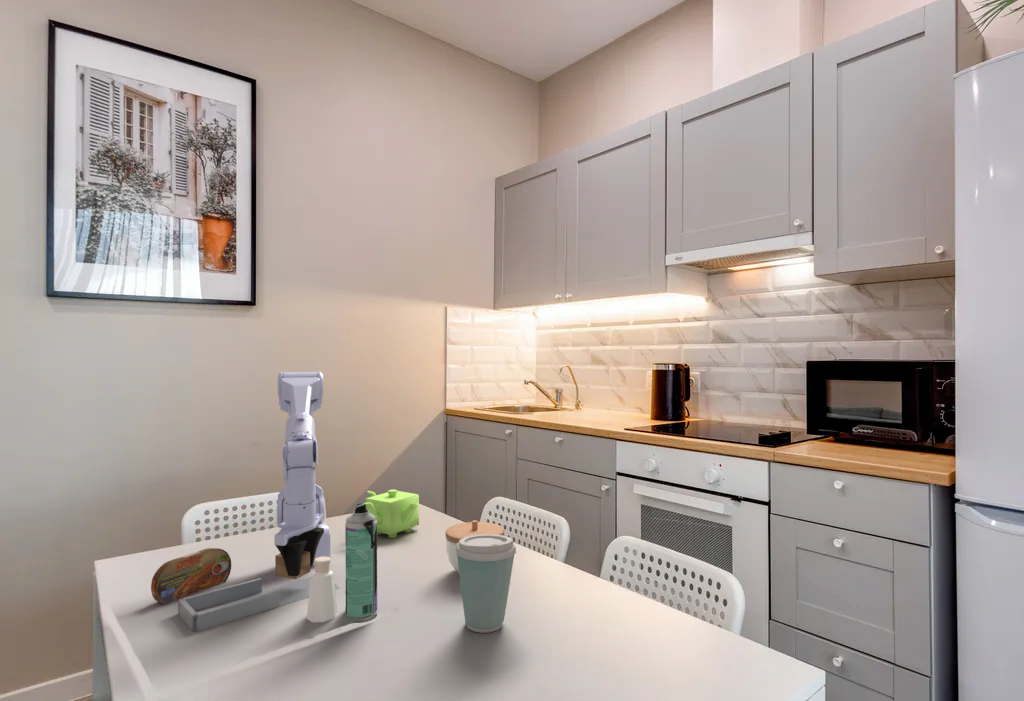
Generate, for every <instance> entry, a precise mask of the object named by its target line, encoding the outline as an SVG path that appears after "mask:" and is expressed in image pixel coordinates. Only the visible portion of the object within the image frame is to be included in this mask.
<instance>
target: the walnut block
mask: <svg viewBox="0 0 1024 701" xmlns="http://www.w3.org/2000/svg"><path fill="white" fill-rule="evenodd" d="M274 563H275V577H280V578H285V579H291V580H292V579H293V580H297V579H298V580H299V578H301V577H304V576H305V575H307V574H309V573H310V572H311V567H310V552H309V551H303V554H302V561H301V571H300V575H299V576H288V574H287V570H286V566H285V563H284V560H283V557H282V555H281V553H280V552H279V553H278V554H276V555H275V561H274Z"/></svg>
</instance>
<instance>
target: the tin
mask: <svg viewBox="0 0 1024 701" xmlns="http://www.w3.org/2000/svg"><path fill="white" fill-rule="evenodd" d="M231 571H232V559H231V556H230V554H229V553H228V552H227V551H226V550H225V549H222V548H218V547H217V548H216V547H215V548H214V547H213V548H212V547H207V548H204V549H200V550H198V551H195V552H192V553H189V554H186V555H183V556H180V557H176V558H174V559H171V560H167V561H166V562H164V563H163V564H161V566H159V567H158V568H157V570H156V571H155V573H154V575H153V576H152V579H151V583H150V592H151V595H152V598H153V599H154V601H156V602H157V603H160V604H163V605H165V606H166V605H168V604H169V603H172V602H174V601H178V599H182V598H186V597H189V596H190V595H191V596H192V595H193V594H196V593H198V592H201V591H204V590H207V589H209V588H211V587H214V586H216V585H219V584H220V585H221V584H224V583H226V581H228V579H229V576H230V575H231Z"/></svg>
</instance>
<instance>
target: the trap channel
mask: <svg viewBox="0 0 1024 701" xmlns="http://www.w3.org/2000/svg"><path fill="white" fill-rule="evenodd" d="M310 582H311V576H310V577H305V578H302V579H298V580H295V581H291V582H288V583H285V584H280V585H277V586H273V587H269V588H266V589H263V585H262V584H263V580H262V578H261V577H259V578H256V579H251V580H249V581H244V582H240V583H237V584H232V585H229V586H224V587H221V588H217V589H213V590H210V591H209V590H208V591H205V592H202V593H198V594H194V595H193V594H192V595H191V596H190V595H189V596H186V597H183V598H180V599H178V600H177V602H178V603H177V605H178V609H177V613H178V615H179V617H180V618H181V619H182V620H183V622H184V623H185V624H186V625H187V626H188V628H189V629H190V630H191V631H192V633H196V632H198V631H202V630H205V629H206V630H207V629H209V628H213V627H215V626H218V625H222V624H225V623H229V622H232V621H235V620H239V619H242V618H245V617H249V616H252V615H255V614H258V613H263V612H265V611H269V610H271V609H275V608H279V607H281V606H286V605H288V604H292V603H296V602H298V601H302V600H306V599H309V591H310ZM338 589H341V587H340V586H338V585H337V584H335V591H336V590H338ZM221 604H222V605H223V604H224V605H223V606H220V607H217V608H213V609H209V610H207V611H203V612H199V613H197V611H200V610H203V609H207V608H210V607H213V606H218V605H221Z"/></svg>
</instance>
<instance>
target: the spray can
mask: <svg viewBox="0 0 1024 701" xmlns="http://www.w3.org/2000/svg"><path fill="white" fill-rule="evenodd" d="M365 503H366V502H363V503H358V504H356V506H355V509H354V511H352V514H351V515H349V516H347V517H346V518H345V521H346V522H345V527H344V528H345V529H344V530H345V614H346V616H348V617H351V618H361V619H358V620H355V621H352V622H351V623H353V624H361V623H363V624H364V623H366V622H370V621H373V620H374V619H376V617H377V616H378V613H376V612H377V611H378V535H377V520H376V516H375V515H372V514H371V513H369V510H367V509H366V504H365Z"/></svg>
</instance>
